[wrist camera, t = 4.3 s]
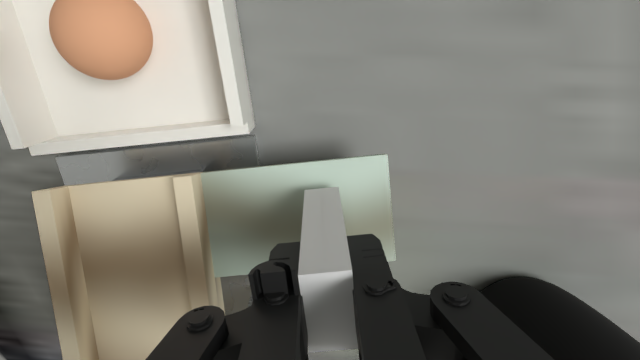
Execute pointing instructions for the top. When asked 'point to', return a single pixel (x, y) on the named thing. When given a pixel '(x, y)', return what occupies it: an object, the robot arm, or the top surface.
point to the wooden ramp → (182, 243)
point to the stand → (169, 163)
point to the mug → (560, 321)
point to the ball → (101, 36)
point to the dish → (125, 82)
